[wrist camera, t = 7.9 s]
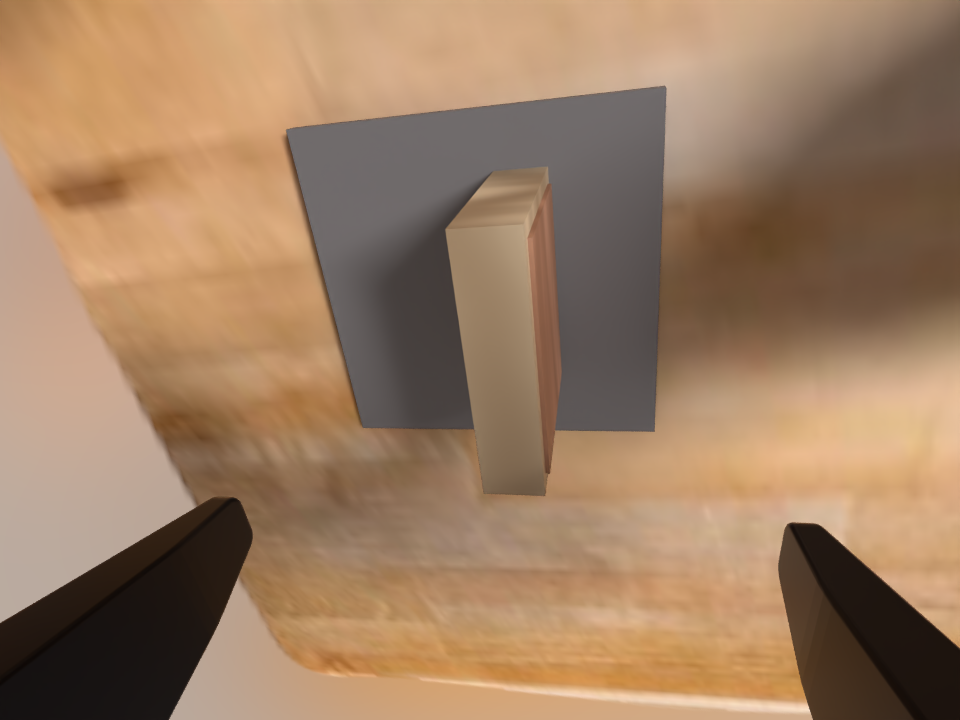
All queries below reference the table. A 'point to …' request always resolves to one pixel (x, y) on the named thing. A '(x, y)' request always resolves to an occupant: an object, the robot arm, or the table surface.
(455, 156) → the mat
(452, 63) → the table surface
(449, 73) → the table surface
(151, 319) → the table surface
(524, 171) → the picture frame
